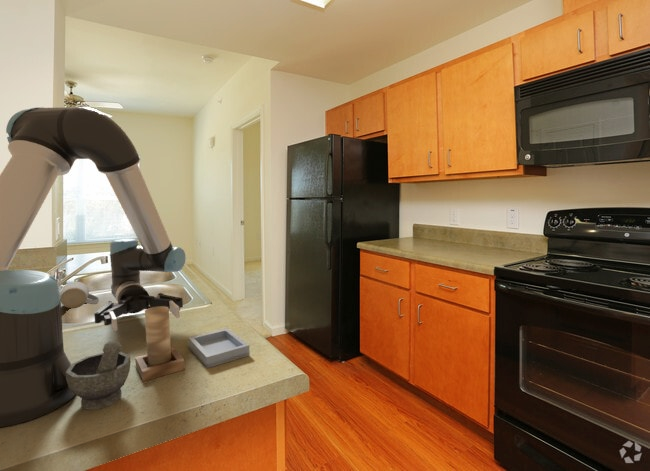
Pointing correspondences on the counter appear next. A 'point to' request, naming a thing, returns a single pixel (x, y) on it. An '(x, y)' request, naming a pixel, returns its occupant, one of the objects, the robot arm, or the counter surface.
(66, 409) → the counter surface
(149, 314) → the dowel
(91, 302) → the ceramic mug
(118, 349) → the mortar and pestle
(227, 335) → the tray
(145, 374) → the socket block
